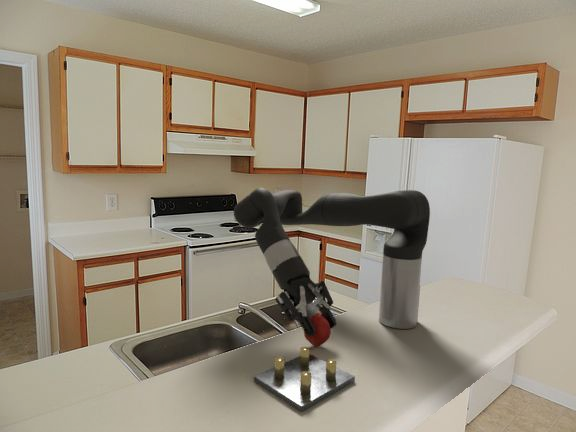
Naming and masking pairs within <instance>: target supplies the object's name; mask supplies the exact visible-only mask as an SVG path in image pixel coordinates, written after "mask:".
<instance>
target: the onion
mask: <svg viewBox="0 0 576 432" xmlns="http://www.w3.org/2000/svg"><path fill="white" fill-rule="evenodd" d="M309 318H310V320H311V322H312V323H313V325H314V327H315V329H316V331H317V332H316V334H314V335H313V336H311V337H309V336H308V335H307V334H306V333H305V331H304V330H303V334H304V338H305V339H306V341H307V342H309V344H310V345H312V346H313V347H314V348H320V347H321V346H322V345H324V344H325V343H326V342H327V341H328V340H330V337H331V334H332V331H331V330H332V328H330V324H329V322H328V321H327V320H326V319H325V318H324V317H323V316H322V315H321V312H319V311H316V313H315V314H313V315H311V316H310V317H309Z"/></svg>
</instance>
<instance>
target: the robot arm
mask: <svg viewBox="0 0 576 432" xmlns="http://www.w3.org/2000/svg"><path fill="white" fill-rule="evenodd" d="M233 216H234V219H235V221H236V222H237V224H239V225H240V227H241V226H242V227H244V228H246V229H253V228H256V227H257V226H260V227H259V228H258V229H257V231H256V232H255V234H254V238H255V241H256V243H257V245H258V247H259V249H260V251H261V252H262V254H263V256H264V259H265V262H266V264H267V266H268V268H269V270H270V271H271V274H272V275H273V277H274V279H275V281H276V284H278V286H279V288H280V289H281V290H282V291H281V292H280V293H279V294H278V295H277V296H276V297H275V301H276V303H277V305H278V306H279V307H280V309H281V310H282V312H283V313H284V315H285V316H286V317H287V319H288V320H289V322H293V321H297V322H298V323H299V324H300V326H301V327H302V329H303V332H304V331H305V333H306V334H307V335H308V336H309V337H311V336H313V335H314V334H316V332H317V331H316V329H315V327H314V325H313V323H312V322H311V320H310V317H309V316H308V314H307V309H306V307H307V305H309V306H310V307H311V308H312V309H313V308H314V309H316V311H317V312H321V315H322V316H323V317H324V318H325V319H326V320H327V321H328V322H329V324H330V328H331V329H333V328H334V327H335V326H337V319H336V318H335V316H334V315H333V313H332V311H331V309H330V308H331V306H332V305H333V304H334V300H333V299H332V296H331V293H330V292H329V289H328V287H327V285H326V283H325V281H324V280H321V281H319V283H318V282H317V283H316V282H314V281H313V279H311V276H310V274H311V271H310V270H309V268H308V266H307V264H306V263H305V261H304V259H303V258H302V256H301V255H300V252H299V251H298V249H297V248H296V246H295V245H294V244H293V242H292V241H291V240H290V237H289V236H288V234H287V232H286V231H285V229H284V227H283V226H301V225H315V226H316V225H317V226H329V227H354V226H355V227H356V226H364V225H367V226H375V227H381V228H387V229H393V232H392V234H391V236H390V237H389V238H388V239H387V240H386V241H385V242H384V244H383V252H382V253H383V254H382V267H381V283H380V299H379V314H378V321H379V323H380V324H383V326H386V327H388V328H393V329H401V330H408V329H409V330H410V329H413V328H415V327H416V326H417V322H418V320H419V319H418V318H419V306H420V296H421V295H420V293H421V292H420V291H421V276H422V275H421V272H422V258H423V251H424V248H425V246H426V245H427V240H428V233H429V225H430V218H431V217H430V216H431V208H430V203H429V200H428V197H426V195H425V194H424V193H422V192H421V191H419V190H414V189H411V190H409V189H407V190H395V191H390V192H385V193H378V194H374V195H373V194H372V195H359V194H355V193H348V192H335V193H334V192H333V193H332V192H331V193H327V194H326V193H325V194H324V195H322V196H321V197H319V198H318V199H316V201H315V202H314V203H312V205H311V206H310V207H309V208H307V210H305V211H304V212H303V197H302V193H301V192H299V190H295V189H282V190H278V191H275V192H273V193H272V192H271V191H269V190H268V189H266V188H265V187H258V188H255V189H254V190H253V191H251V192H250V193H249V194H247V195H246V196H245V197H244V198H243V199H241V200H240V201H238V202H237V204H236V205H235V206H234V209H233Z"/></svg>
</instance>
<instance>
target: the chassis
mask: <svg viewBox="0 0 576 432" xmlns="http://www.w3.org/2000/svg"><path fill="white" fill-rule="evenodd" d="M355 378H356V376H355V375H353V374H351V373H349V372H348V371H345V370H343V369H341V368H339V367H337V361H336V360H335V359H327V360H326V361H325V360H323V359H321V358H319V357H317V356H315V355H312V354H311V353H310V347H308V346H301V347H300V349H299V356H297V357H295V358H292V359H290V360H288V361H286V362H285V358H283V357H280V356H279V357H276V358H274V367H272V368H270V369H268V370H265V371H263V372H261V373H258V374H255V375H254V376H253V382H254V383H255V384H257V385H259V386H260V387H262V388H263V389H265V390H267V392H268V393H269V392H270V393H271V394H272V395H274V396H276V397H277V398H279V399H280V400H282V399H283V400H284V402H286V403H287V404H288V403H289V404H288V405H290V406H291V405H292V407H293V406H294V407H295V408H294V407H293V408H294V409H296V410H297V409H298V411H299V412H301V413H302V412H305V411H306V410H307V409H309V408H311V407H312V406H315V405H316V404H318V403H320V402H322V401H324V400H325V399H327V398H329V397H330V396H332V395H333V394H335V393H337V392H339V391H341V390H342V389H344V388H345V387H347V386H350V385H351V384H353V383H354V382H355V381H356V379H355ZM283 400H282V401H283Z"/></svg>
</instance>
